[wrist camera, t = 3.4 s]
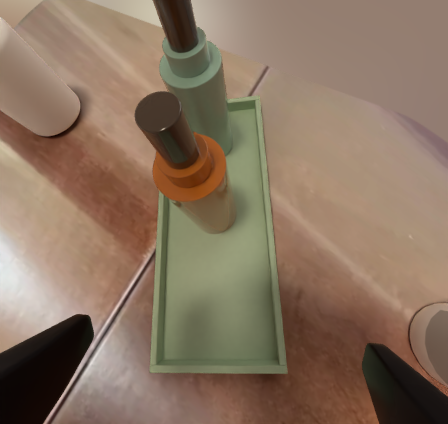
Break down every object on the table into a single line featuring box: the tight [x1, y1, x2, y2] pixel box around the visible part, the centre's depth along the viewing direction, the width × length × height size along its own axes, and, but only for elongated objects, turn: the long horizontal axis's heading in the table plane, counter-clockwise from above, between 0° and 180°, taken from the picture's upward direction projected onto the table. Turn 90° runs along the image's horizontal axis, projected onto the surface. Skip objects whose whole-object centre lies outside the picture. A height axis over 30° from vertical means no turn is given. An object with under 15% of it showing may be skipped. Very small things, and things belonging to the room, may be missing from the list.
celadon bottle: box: [153, 0, 233, 156], centre depth 20 cm, size 5×5×16 cm
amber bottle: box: [135, 91, 237, 234], centre depth 18 cm, size 5×5×16 cm
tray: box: [150, 96, 288, 374], centre depth 25 cm, size 29×12×2 cm, turn 2°
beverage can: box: [0, 17, 80, 136], centre depth 27 cm, size 8×8×12 cm
